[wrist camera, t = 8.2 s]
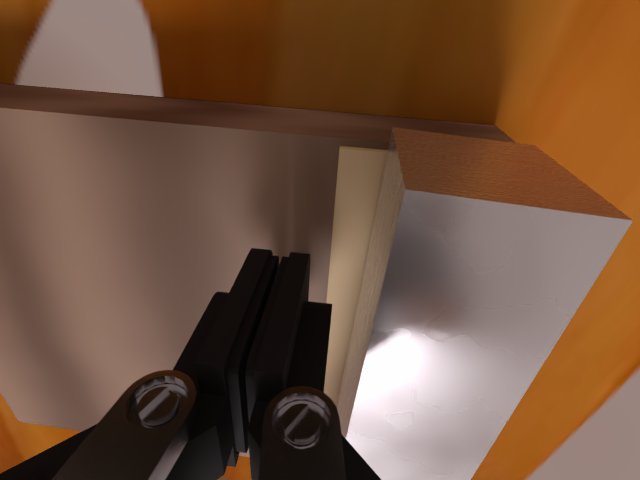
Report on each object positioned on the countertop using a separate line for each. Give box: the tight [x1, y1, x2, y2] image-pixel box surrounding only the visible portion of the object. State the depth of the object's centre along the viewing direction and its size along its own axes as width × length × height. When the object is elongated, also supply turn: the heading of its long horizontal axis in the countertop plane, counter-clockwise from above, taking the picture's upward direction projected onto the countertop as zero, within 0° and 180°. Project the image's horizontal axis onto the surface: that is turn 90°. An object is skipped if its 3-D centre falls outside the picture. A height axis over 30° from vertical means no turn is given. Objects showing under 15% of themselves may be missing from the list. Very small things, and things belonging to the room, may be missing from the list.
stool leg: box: [337, 127, 633, 480], centre depth 11 cm, size 16×3×4 cm, turn 175°
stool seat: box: [0, 84, 516, 457], centre depth 15 cm, size 20×16×3 cm
